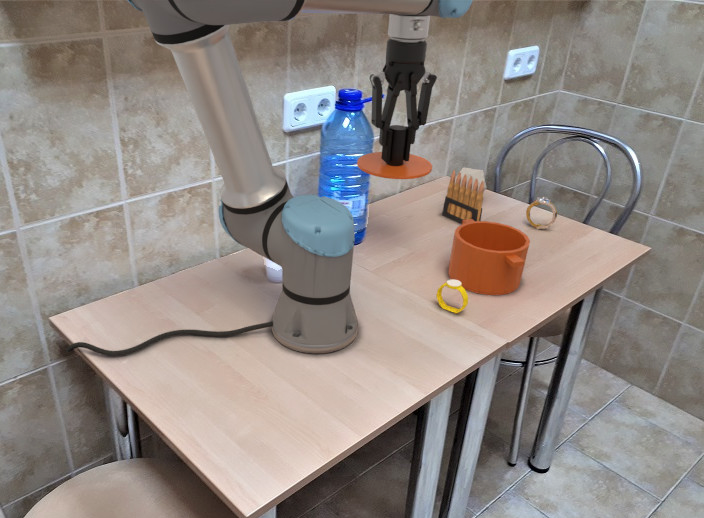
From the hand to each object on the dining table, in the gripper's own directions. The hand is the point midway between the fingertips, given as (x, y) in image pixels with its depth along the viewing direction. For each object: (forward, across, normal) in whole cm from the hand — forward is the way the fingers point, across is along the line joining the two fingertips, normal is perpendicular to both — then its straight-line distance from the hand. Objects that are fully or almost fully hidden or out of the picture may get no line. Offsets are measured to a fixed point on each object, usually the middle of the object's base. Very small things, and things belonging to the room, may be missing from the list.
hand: (395, 159), depth 127 cm
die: (+21, +33, +23) cm, 45 cm away
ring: (+21, +41, +2) cm, 46 cm away
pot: (+21, +15, -17) cm, 31 cm away
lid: (+1, 0, 0) cm, 1 cm away
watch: (+21, +2, -27) cm, 34 cm away
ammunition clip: (+21, +24, +10) cm, 33 cm away
